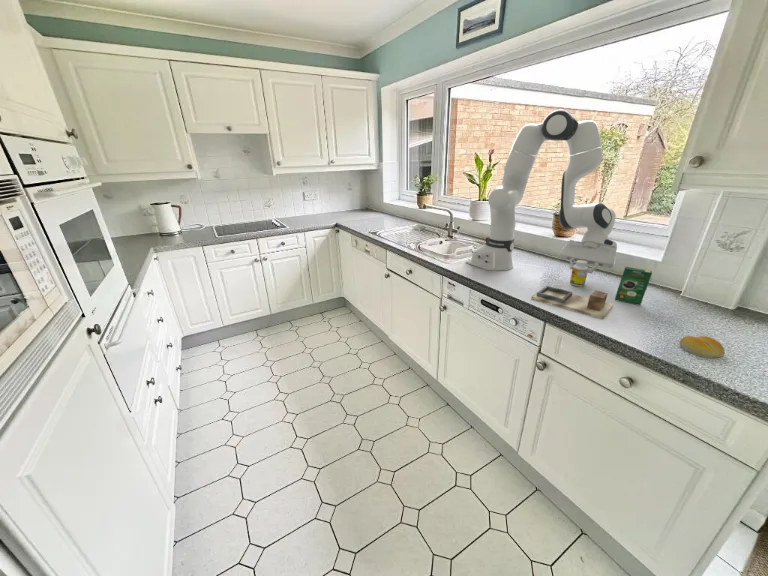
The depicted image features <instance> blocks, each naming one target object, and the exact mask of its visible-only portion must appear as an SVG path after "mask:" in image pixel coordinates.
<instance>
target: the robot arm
mask: <svg viewBox="0 0 768 576" xmlns="http://www.w3.org/2000/svg"><path fill="white" fill-rule="evenodd" d="M546 141H552V142H553V141H555V142H556V141H565V142H566V145H567V149H568V155H569V156H568V160H569V161H568V165H567V168H566V169H564V171H563V173H562V177H561V178H562V179H561V190H560V209H559V214H558V223H559V225H561V227H562V228H563V229H565V230H573V229H574V230H575V229H581V228H585V229H587V230H586V231H585V233H584V234H583V236H582V238H581V240H575V239H574V240H573V239H570V240H566V241H565V242H564V244H563V247H562V249H561V250H560V252H559V256H560V259H563V260H567V261H569V262H570V266H569V270H572V269H573V266H574V265H575V262H576V261H577V260H584V261H587V265H593V266H592V267H588V273H587V274H593V272H594V271H596V270H597V269H598V268H599V267H602V268H607V269H611V268H613V267H614V266H615V263H616V260H617V250H618V244H617V242H615V241H614V240H611V239H609V235H610V234H611V233H612V231H613V228H614V226H615V222H616V217H617V216H616V213H615V211H614V210H613V209H611V208H609V207H607V206H606V205H605V204H604V203H601V202H597V203H596V202H595V203H587V204H579V205H577V204H575V198H576V197H575V195H576V185H577V183H578V182H579V181H580V180H581V179H582V178H584V177H587V176H588V175H590V174H591V173H593V172H595V170H596V169H597V168H598V167H599V166H600V165H601V162H602V160H603V147H602V145H603V144H602V137H601V134H600V130H599V127H598V124H597V122H596V121H594V120H590V119H588V120H587V119H586V120H581V121H578V120H577V119H576V118H575V117H574V116H573V114H572V113H571V112H570V111H569V110H566V109H555V110H552V111H551V112H550V113H548V114H547V115H546V116H545V117H544V119H543V121H542V122H541V123H526V124H525V125H523V126H522V127H521V129H520V130H519V132H518V133H517V135H516V138H515V140H514V142H513V144H512V146H511V149H510V151H509V154H508V157H507V160H506V161H505V166H504V169H503V171H504V172H503V176H502V182H501V184H500V185H499V186H497V187H495V188H494V189H492V191H491V192H490V194H489V196H488V199H487V200H488V202H487V203H488V205H489V211H490V227H489V236H487V237H486V238H484V240H483V242H485V243H484V244H483V245H481V246H480V247H477V248H476V249H474V251H473V252H472V254H471V255H472V256H471V257H469V258H468V259H467V260H466V263H467V264H468V265H472V266H474V267H478V268H480V269H483V270H485V271H508V270H511V269H513V268H514V265H513V250H514V247H515V246H514V245H515V230H516V224H517V222H516V215H515V212H516V211H515V209H516V207H517V206H518V205H519V204H520V203H521V201H522V200H523V197H524V194H525V191H526V188H527V184H528V181H529V177H530V174H531V172H532V169H533V166H534V164H535V162H536V159H537V157H538V155H539V152H540V150H541V148H542V146H543V144H544V143H545V142H546Z"/></svg>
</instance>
